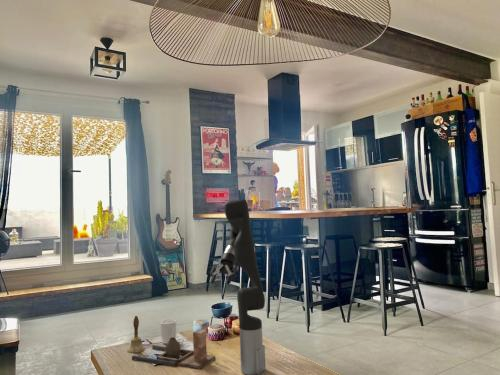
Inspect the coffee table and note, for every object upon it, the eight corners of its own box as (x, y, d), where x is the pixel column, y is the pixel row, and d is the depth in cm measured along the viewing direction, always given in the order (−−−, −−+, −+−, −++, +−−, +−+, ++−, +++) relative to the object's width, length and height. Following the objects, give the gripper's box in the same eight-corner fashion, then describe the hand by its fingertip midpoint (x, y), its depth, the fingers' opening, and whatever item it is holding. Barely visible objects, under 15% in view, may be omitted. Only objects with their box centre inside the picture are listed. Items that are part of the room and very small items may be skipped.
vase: (178, 360, 168) (178, 340, 168) (163, 361, 168) (162, 340, 169) (182, 355, 175) (182, 335, 175) (167, 355, 175) (167, 335, 176)
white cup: (158, 343, 192) (157, 323, 192) (165, 338, 199) (165, 319, 200) (171, 344, 189) (171, 324, 190) (179, 339, 197) (178, 319, 198)
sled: (215, 358, 168) (214, 328, 169) (200, 368, 158) (199, 336, 159) (173, 352, 178) (172, 323, 179) (156, 361, 167) (156, 331, 168)
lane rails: (194, 354, 175) (194, 350, 175) (175, 366, 161) (174, 362, 161) (153, 348, 185) (153, 345, 185) (131, 359, 172) (131, 356, 172)
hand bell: (133, 346, 189) (132, 313, 190) (148, 347, 187) (147, 314, 188) (123, 352, 181) (123, 318, 182) (139, 353, 179) (138, 319, 180)
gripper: (215, 251, 196) (204, 278, 184) (239, 251, 189) (229, 279, 178) (220, 260, 200) (210, 287, 189) (245, 261, 194) (235, 288, 183)
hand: (219, 283), depth 184 cm, fingers open, 8 cm apart
